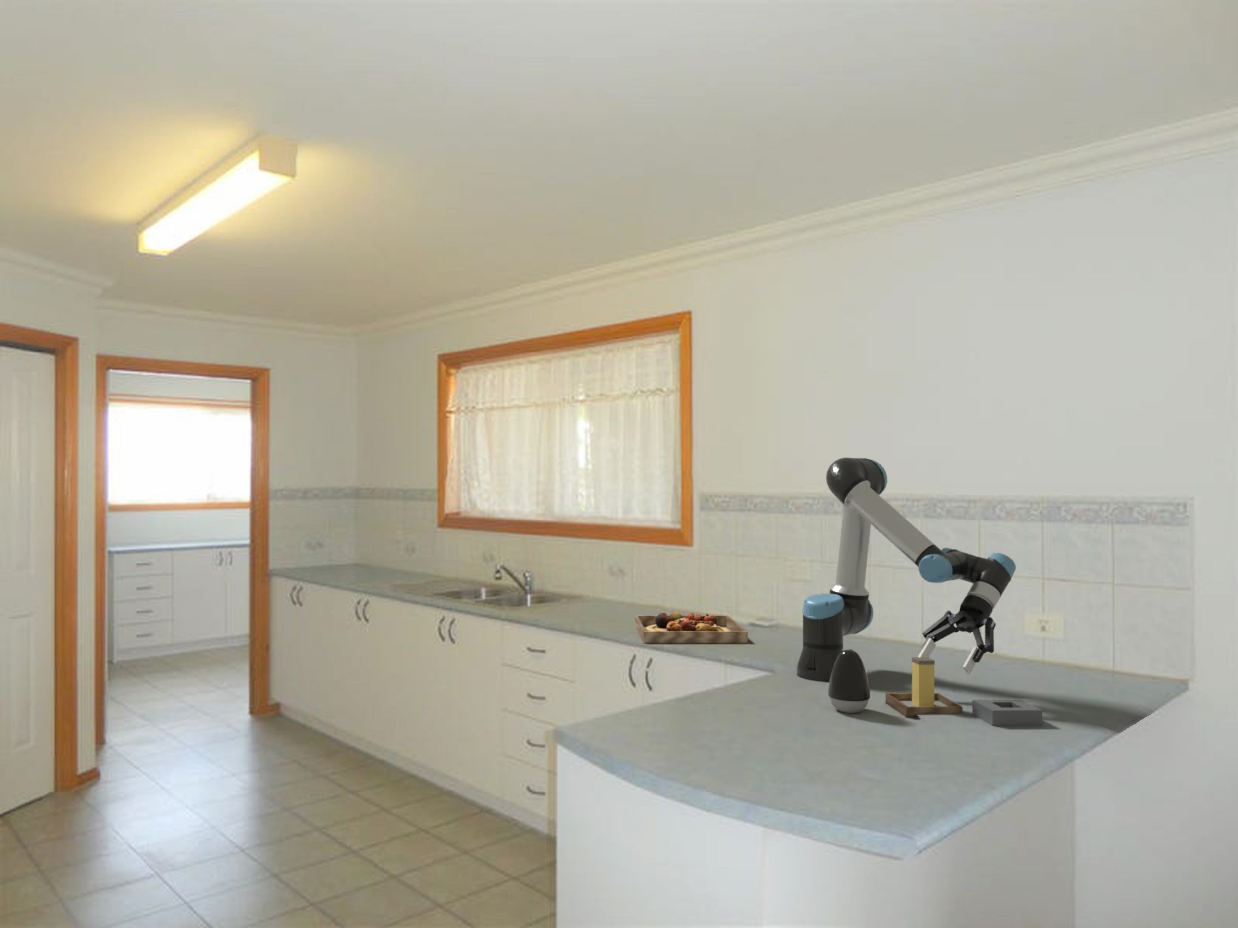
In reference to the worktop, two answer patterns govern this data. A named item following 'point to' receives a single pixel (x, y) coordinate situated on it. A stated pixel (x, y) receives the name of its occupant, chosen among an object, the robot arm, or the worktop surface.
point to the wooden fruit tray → (691, 632)
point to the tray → (911, 712)
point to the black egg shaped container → (849, 683)
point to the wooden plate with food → (685, 623)
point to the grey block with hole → (1007, 712)
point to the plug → (922, 681)
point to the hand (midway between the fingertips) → (943, 665)
